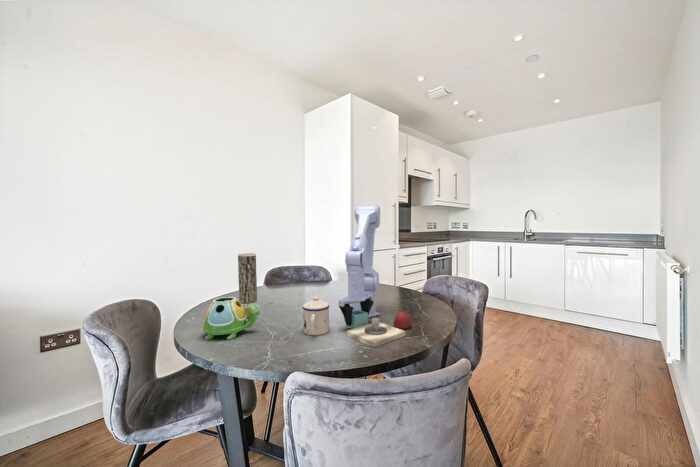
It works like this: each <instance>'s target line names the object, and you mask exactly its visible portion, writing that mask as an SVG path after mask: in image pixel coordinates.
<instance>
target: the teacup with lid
mask: <svg viewBox="0 0 700 467" xmlns="http://www.w3.org/2000/svg"><path fill="white" fill-rule="evenodd" d="M329 307H330V303H328V302H327V301H324V300H322V299H319V297H318V296H313V297H312V299H311V300H309V301H308V302H305V303H304V304H303V305H302V311H303V314H302V315H303V317H302V318H303V332H304V334H306V335H309V336H320V335H324V334H327V333H329V331H330V317H329V316H330V312H329V311H330V308H329Z"/></svg>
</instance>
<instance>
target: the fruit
mask: <svg viewBox="0 0 700 467" xmlns="http://www.w3.org/2000/svg"><path fill="white" fill-rule="evenodd" d="M415 315H417V316H418V313H416V314H415ZM415 315H413V316H411V317H410V315H409V314H408V313H407V312H404V311H398V313H397V314H396V315H395V317H394V319H393V322H392V324H393V327H395V328H398V329H401V330H407V329H409V327H410V326H411V323H412V321H411V319H412V318H413V317H415Z"/></svg>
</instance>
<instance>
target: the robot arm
mask: <svg viewBox="0 0 700 467" xmlns="http://www.w3.org/2000/svg"><path fill="white" fill-rule="evenodd" d="M353 215H354V219H355V221H356V224H357V225H356V226H357V227H356V234H354V235H353V236H352V239H351V242H350V243H351V244H350V247H349V250H348V251H347V252H345V257H344V258H345V259H344V260H345V261H344V262H345V267H346V268H345V269H346V272H347V287H348V288H347V289H348V290H347V292H348V293H347V295H348V296H346V297H343V298H340V299H338V308H339V309H340V311H341V314H342V315H343V318H344V321H345V322H344V323H345V326H346V325H348V326H351V323H352V311H353V310H357V309H358V310H361V311H364V312H367V313H368V319H369V318H371V317H372V318H374V317H376V316H379V315H381V313H380V312H377V311H376V293H377V292H378V291H379V289H380V275H379V272H378V271H377V270H376V269H374V268H373V264H374V248H375V247H374V246H375V233H376V230H377V228H379V227H380V225H381V207H380V206H379V205H355V208H354V214H353Z"/></svg>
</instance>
